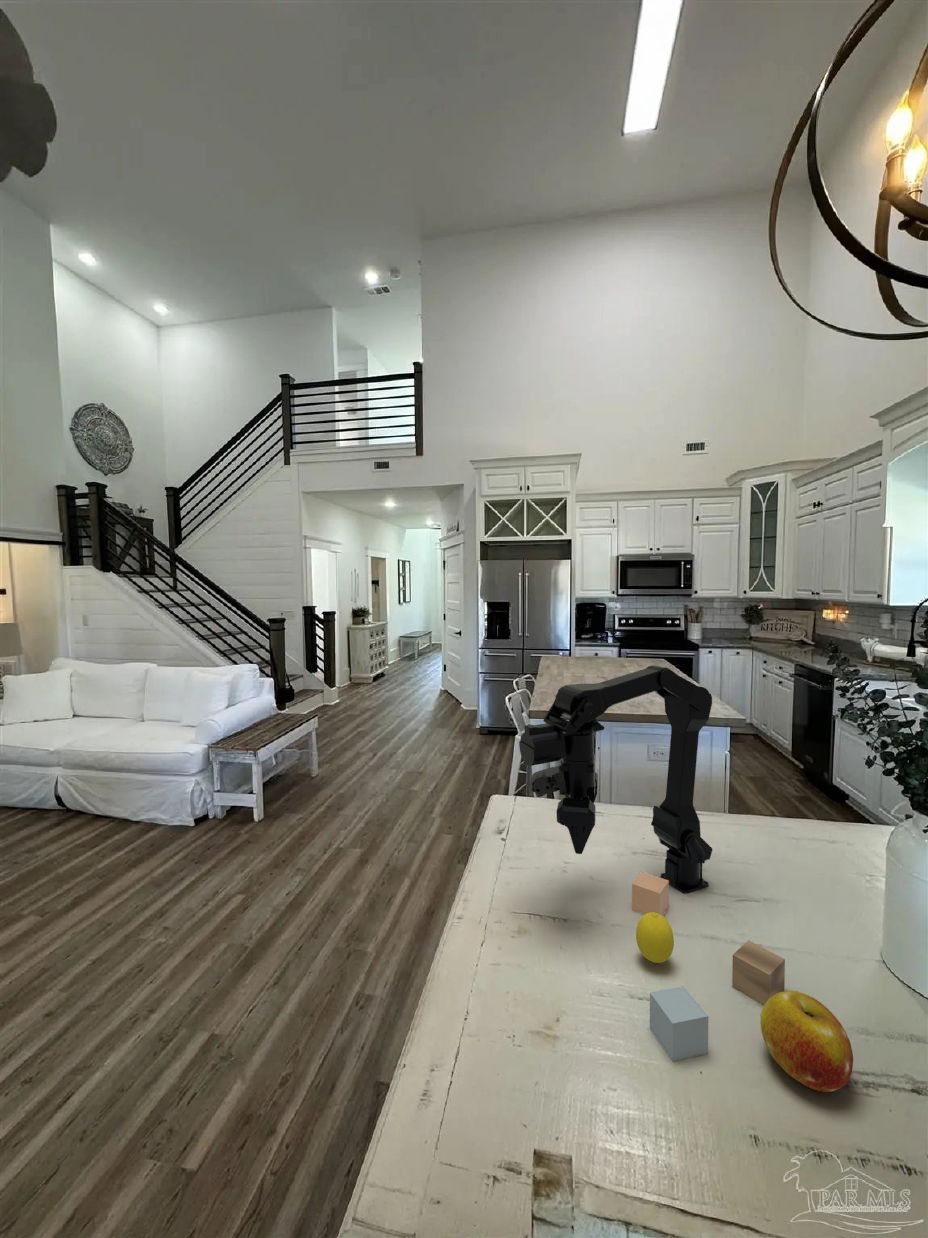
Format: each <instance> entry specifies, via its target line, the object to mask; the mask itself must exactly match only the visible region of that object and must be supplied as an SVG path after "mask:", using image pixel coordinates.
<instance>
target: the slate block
mask: <svg viewBox="0 0 928 1238" xmlns="http://www.w3.org/2000/svg"><path fill="white" fill-rule="evenodd" d="M649 1029H650V1031H652V1033H653V1035H654V1036H655V1037H656V1039H657V1040H658V1042H659V1044H660V1045H661V1047H662V1048H663V1050H664V1051H665V1053H666V1054H667V1057H669V1059H670V1060H671V1062H676V1061H680V1060H681V1061H682V1060H685V1059H689V1058H693V1057H694V1058H695V1057H699V1056H702V1055H707V1054H709V1015H708V1014H707V1012H706V1011H704V1008H702V1006H701V1005H700V1004H699V1003H698V1002H697V1000H696V999H695V998H694V997H693V995H692V994H691V993H690V992H689V990H687V988H686V987H685V986H684V985H682V986H677V987H676V986H675V987H670V988H666V989H662V990H661V989H660V990H655V991H651V992H649Z"/></svg>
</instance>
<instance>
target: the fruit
mask: <svg viewBox="0 0 928 1238" xmlns="http://www.w3.org/2000/svg"><path fill="white" fill-rule="evenodd" d="M759 1024H760V1032H761V1035H762V1037H763V1038H762V1039H763V1041H764V1044H765V1046H766V1048H767V1050H768V1052H769V1054H770V1055H771V1057H772V1058H773V1059H774V1060H775V1062H776V1063H777V1064H778V1065H779V1066H780V1067H781V1069H782V1070H783V1071H784V1072H785V1073H786V1074H788V1075H789V1076H790V1077H792V1078H793V1079H794V1080H795V1081H797V1082H799V1083H800V1084H801V1085H803V1086H805V1087H807V1088H809V1089H812V1090H815V1091H817V1092H824V1093H826V1092H827V1093H831V1092H835V1091H838V1090H840V1089H843V1087H844V1086H845V1085H846V1084H848V1082H849V1080H850V1079H851V1076H852V1073H853V1067H854V1065H853V1064H854V1053H853V1048H852V1044H851V1041H850V1038H849V1036H848V1034H847V1032H846V1030H845V1028H844V1027H843V1025H842V1023H841V1022H840V1020H838V1018H837V1017H836V1016H835V1014H834V1013H833V1011H831V1010H830V1009H829V1008H828V1007H827V1006H825V1004H823V1003H822V1002H821V1001H819V1000H818V999H816V998H814V997H813V996H811V995H808V994H806V993H803V992H801V991H797V990H796V991H795V990H784V991H783V992H779V993H777V994H775V995H774V996H772V997H771V998H769V999H768V1001H767V1002H766V1003H765V1005H764V1006H763V1005H762V1009H761V1013H760V1023H759Z"/></svg>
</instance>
